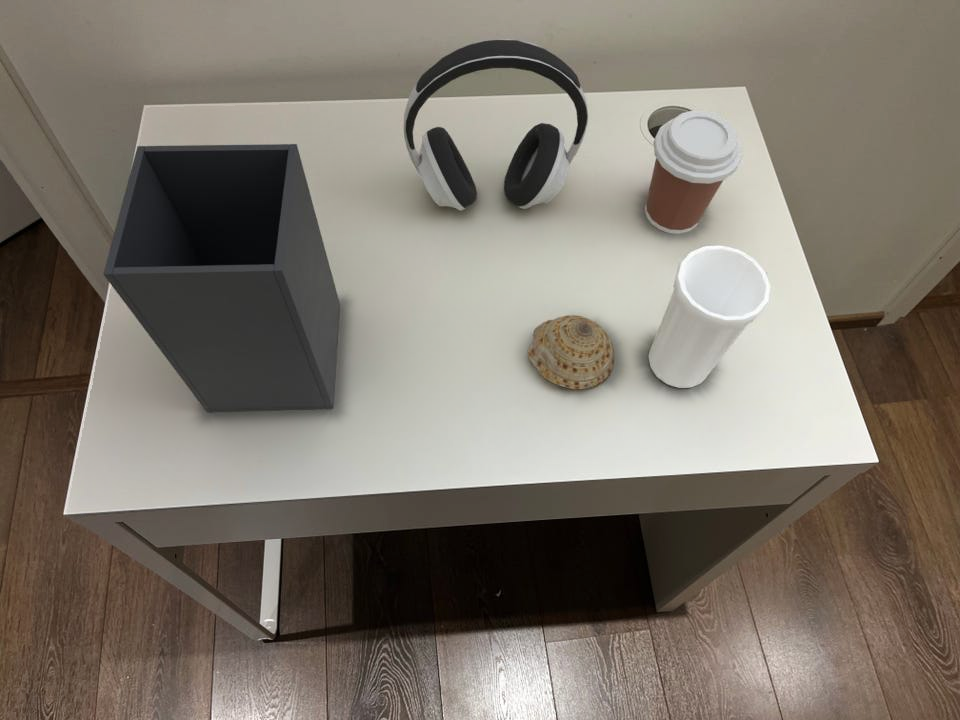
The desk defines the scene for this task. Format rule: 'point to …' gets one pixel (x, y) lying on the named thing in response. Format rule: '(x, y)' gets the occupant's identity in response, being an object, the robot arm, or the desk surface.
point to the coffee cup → (690, 168)
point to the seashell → (572, 352)
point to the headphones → (538, 154)
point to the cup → (707, 313)
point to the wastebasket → (230, 274)
